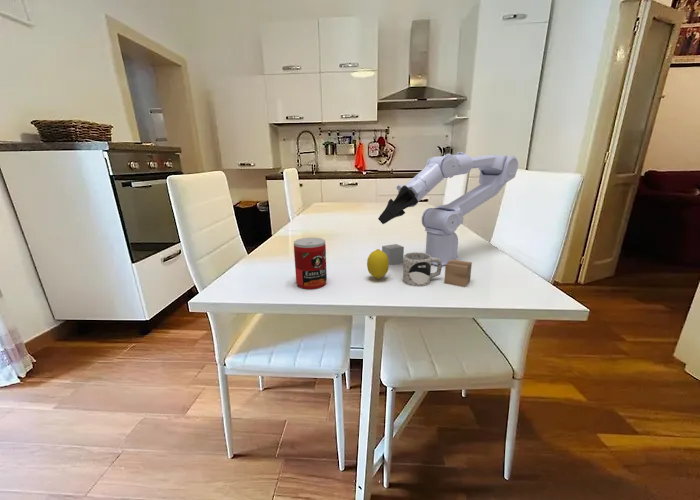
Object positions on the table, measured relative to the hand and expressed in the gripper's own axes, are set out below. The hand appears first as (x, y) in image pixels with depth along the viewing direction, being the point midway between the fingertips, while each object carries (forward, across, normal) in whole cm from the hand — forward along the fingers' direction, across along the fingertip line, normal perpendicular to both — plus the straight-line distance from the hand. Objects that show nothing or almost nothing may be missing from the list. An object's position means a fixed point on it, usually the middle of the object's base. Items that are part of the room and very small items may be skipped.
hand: (385, 217), depth 81 cm
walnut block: (-1, +3, +24) cm, 24 cm away
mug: (+4, 0, +18) cm, 19 cm away
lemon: (+12, -3, +11) cm, 16 cm away
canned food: (+25, -4, 0) cm, 25 cm away
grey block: (+2, -14, +12) cm, 19 cm away
